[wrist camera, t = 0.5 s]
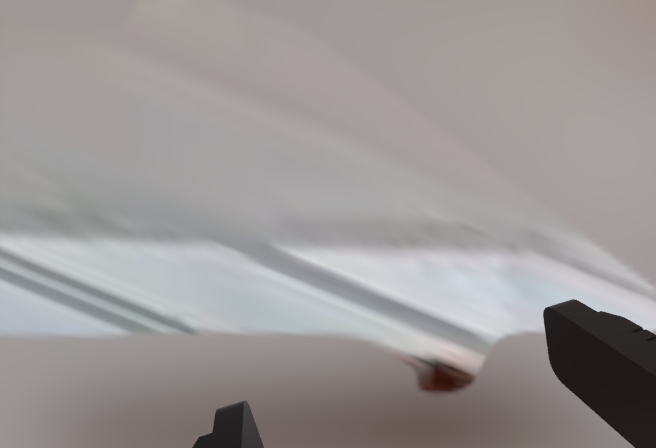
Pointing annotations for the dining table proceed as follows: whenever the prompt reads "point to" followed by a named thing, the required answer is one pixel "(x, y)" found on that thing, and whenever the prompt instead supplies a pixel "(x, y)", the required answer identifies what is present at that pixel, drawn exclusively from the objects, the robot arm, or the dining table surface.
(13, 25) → the dining table surface
